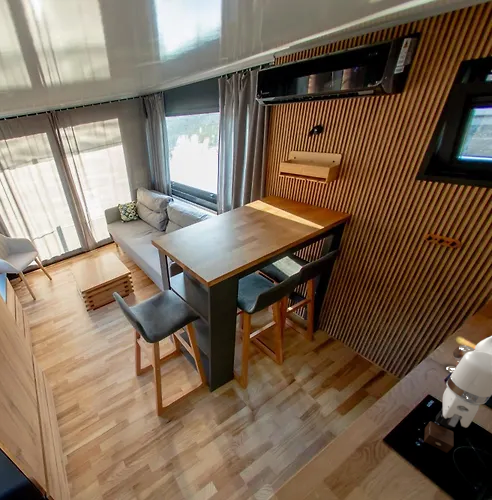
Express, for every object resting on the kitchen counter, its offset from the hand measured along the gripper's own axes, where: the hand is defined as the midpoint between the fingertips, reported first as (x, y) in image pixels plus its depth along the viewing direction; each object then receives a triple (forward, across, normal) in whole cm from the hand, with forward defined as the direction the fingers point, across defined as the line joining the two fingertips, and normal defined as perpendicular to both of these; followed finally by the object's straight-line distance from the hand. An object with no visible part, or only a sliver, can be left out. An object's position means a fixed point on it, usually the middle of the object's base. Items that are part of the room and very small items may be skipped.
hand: (442, 423), depth 81 cm
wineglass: (+6, +33, -5) cm, 34 cm away
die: (+4, 0, 0) cm, 4 cm away
